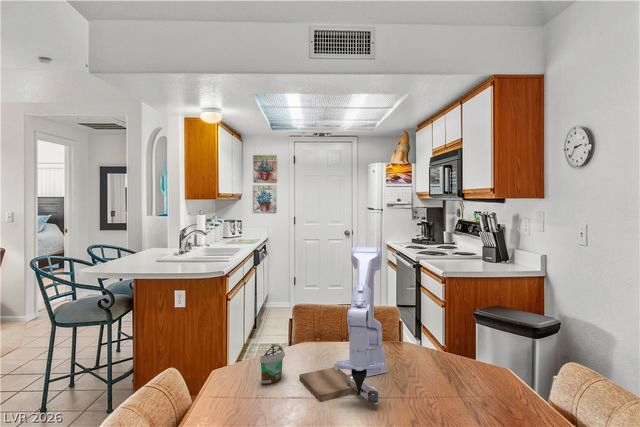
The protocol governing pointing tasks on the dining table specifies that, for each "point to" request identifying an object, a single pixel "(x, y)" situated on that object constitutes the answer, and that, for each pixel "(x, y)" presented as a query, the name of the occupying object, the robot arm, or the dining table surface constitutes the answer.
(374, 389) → the block
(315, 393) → the stool seat
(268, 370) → the food container
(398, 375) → the dining table surface
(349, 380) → the folding leg
